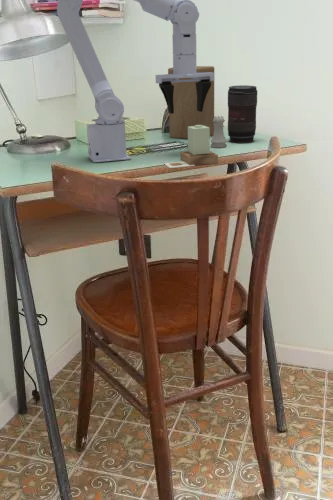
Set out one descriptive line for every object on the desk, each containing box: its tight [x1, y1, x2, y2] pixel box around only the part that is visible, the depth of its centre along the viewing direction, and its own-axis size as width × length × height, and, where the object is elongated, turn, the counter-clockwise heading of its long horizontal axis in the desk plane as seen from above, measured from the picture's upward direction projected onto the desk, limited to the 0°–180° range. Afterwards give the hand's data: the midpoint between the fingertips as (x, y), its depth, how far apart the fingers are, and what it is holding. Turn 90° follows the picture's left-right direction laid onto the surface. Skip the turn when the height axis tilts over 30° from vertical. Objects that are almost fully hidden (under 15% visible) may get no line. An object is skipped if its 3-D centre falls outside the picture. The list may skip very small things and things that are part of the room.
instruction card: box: [163, 161, 196, 169], centre depth 126 cm, size 6×5×1 cm
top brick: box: [187, 125, 211, 155], centre depth 127 cm, size 4×4×6 cm
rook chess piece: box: [210, 115, 228, 149], centre depth 145 cm, size 4×4×8 cm
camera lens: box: [227, 84, 258, 144], centre depth 151 cm, size 8×8×15 cm
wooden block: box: [167, 65, 215, 140], centre depth 160 cm, size 10×10×20 cm
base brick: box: [179, 150, 219, 166], centre depth 129 cm, size 7×7×2 cm
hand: (185, 112), depth 135 cm, fingers open, 7 cm apart
